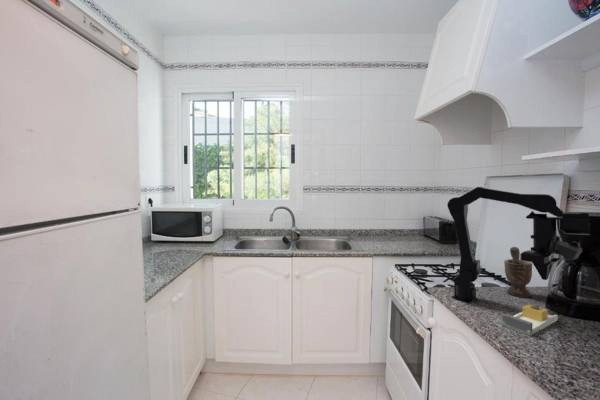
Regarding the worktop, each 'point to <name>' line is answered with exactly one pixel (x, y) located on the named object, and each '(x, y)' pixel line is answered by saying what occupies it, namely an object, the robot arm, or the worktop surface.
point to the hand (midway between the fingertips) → (544, 279)
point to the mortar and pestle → (518, 274)
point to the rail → (526, 323)
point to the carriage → (535, 312)
